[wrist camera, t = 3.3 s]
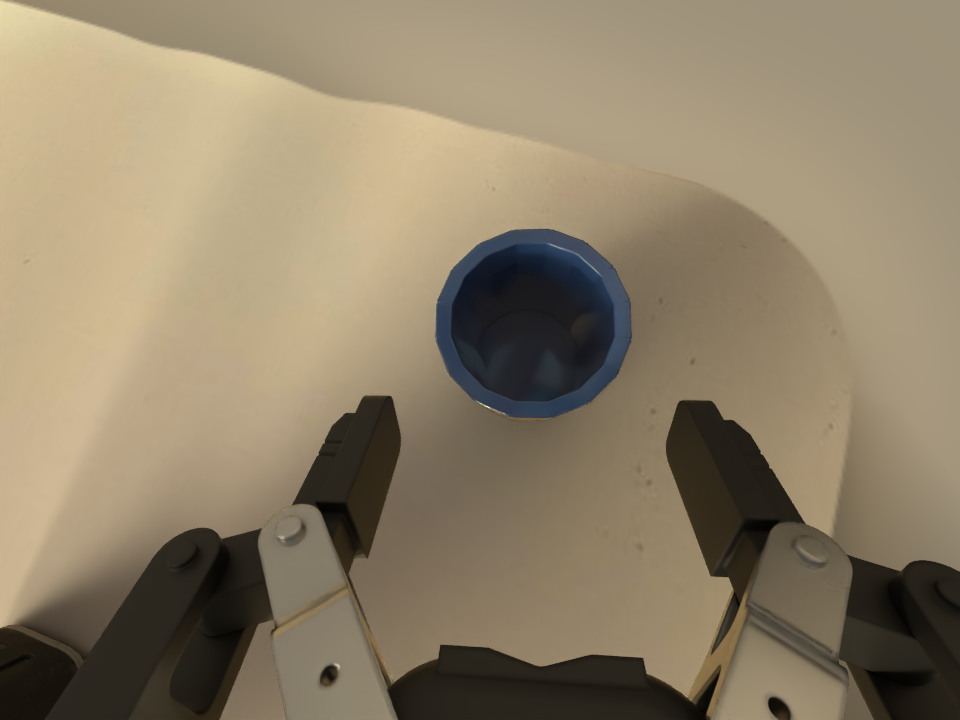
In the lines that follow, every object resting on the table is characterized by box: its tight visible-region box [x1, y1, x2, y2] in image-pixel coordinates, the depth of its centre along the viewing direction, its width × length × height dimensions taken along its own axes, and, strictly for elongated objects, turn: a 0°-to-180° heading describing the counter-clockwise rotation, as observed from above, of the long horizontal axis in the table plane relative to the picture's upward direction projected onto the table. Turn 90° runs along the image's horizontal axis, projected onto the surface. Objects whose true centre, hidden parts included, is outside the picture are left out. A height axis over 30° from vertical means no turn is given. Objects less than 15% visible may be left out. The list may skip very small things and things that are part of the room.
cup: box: [435, 229, 632, 421], centre depth 16 cm, size 6×6×8 cm
